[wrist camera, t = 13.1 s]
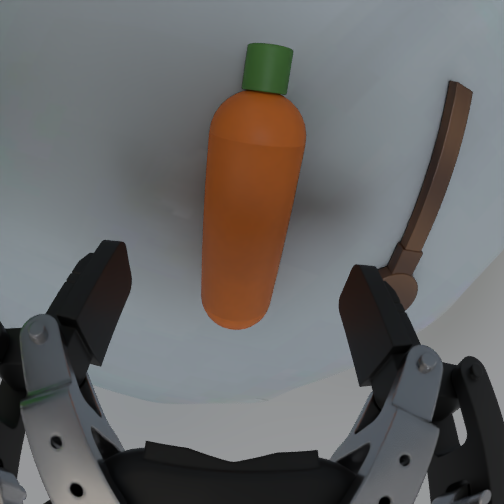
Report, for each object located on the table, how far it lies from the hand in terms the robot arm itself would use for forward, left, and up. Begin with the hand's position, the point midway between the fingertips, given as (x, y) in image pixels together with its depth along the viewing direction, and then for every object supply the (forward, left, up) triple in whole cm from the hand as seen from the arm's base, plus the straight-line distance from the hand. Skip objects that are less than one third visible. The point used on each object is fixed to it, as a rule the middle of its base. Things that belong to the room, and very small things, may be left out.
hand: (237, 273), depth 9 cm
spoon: (-1, +11, -6) cm, 13 cm away
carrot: (+1, 0, -6) cm, 6 cm away
